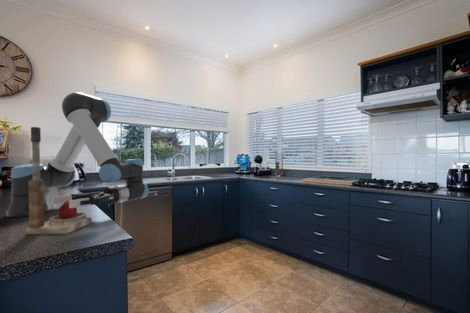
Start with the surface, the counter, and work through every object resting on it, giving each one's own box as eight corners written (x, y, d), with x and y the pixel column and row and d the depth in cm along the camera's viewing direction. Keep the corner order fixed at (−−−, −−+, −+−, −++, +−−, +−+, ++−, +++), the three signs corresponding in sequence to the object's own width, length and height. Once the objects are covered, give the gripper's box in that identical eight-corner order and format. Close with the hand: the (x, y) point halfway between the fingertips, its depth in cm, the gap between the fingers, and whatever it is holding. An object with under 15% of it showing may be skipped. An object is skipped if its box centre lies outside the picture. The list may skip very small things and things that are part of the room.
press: (57, 222, 97) (56, 131, 97) (91, 222, 97) (90, 130, 97) (26, 233, 83) (25, 126, 83) (65, 233, 83) (64, 126, 83)
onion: (67, 224, 88) (66, 203, 87) (54, 223, 89) (53, 202, 88) (81, 219, 93) (79, 198, 93) (68, 218, 95) (67, 198, 94)
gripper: (132, 205, 100) (77, 216, 83) (100, 200, 114) (46, 209, 96) (132, 187, 100) (77, 195, 83) (100, 184, 114) (46, 190, 96)
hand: (60, 202), depth 89 cm, fingers open, 13 cm apart
